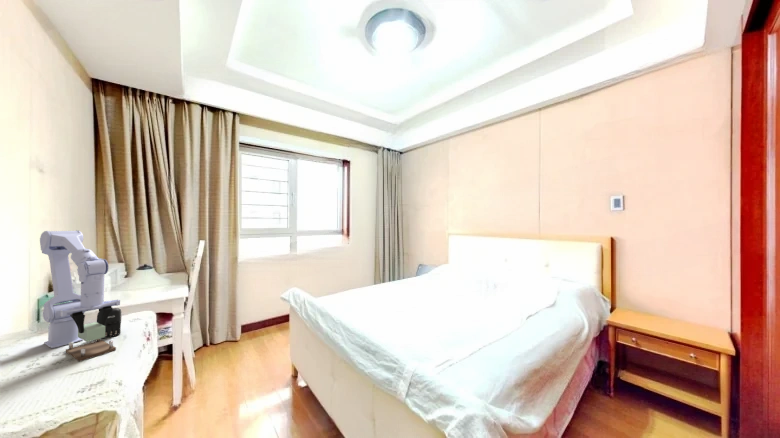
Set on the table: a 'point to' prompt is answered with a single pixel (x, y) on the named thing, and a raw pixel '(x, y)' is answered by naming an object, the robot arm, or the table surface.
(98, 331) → the pale green block
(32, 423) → the table surface
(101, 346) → the chassis
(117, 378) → the table surface
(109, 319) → the battery charger
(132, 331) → the table surface
